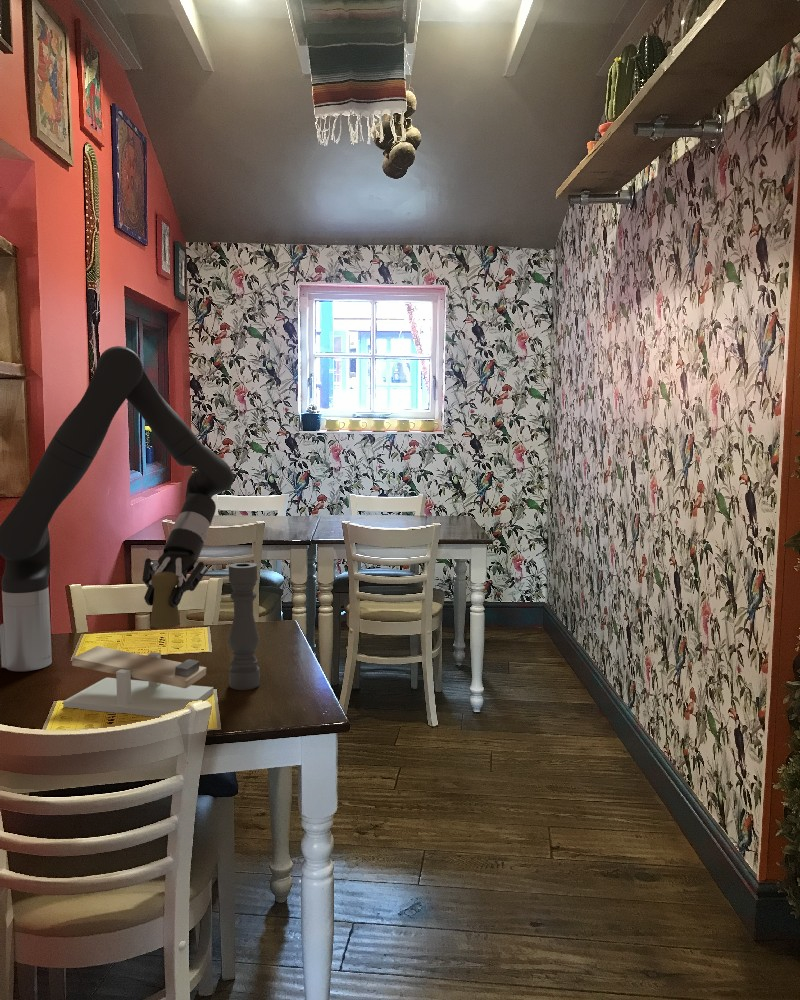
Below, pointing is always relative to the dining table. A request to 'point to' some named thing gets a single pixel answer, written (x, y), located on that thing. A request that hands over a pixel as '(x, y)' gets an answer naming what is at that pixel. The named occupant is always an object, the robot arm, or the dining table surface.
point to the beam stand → (136, 695)
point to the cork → (164, 601)
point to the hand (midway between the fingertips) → (160, 604)
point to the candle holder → (243, 628)
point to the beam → (141, 666)
